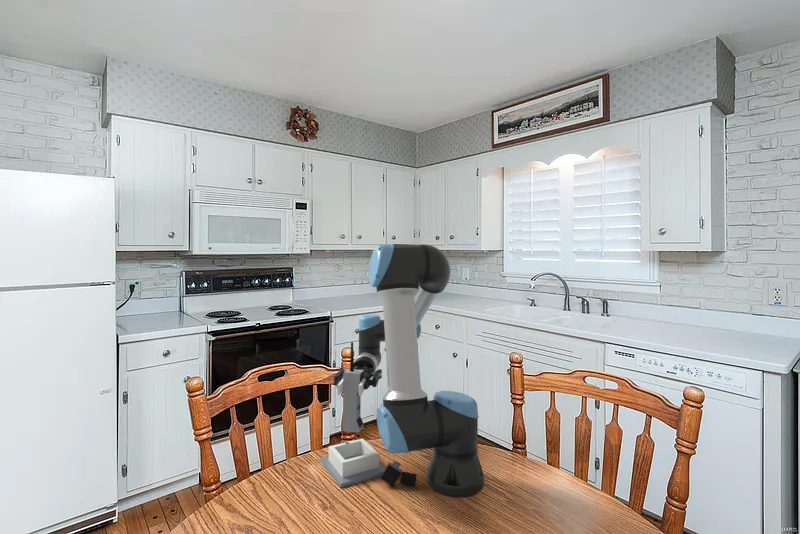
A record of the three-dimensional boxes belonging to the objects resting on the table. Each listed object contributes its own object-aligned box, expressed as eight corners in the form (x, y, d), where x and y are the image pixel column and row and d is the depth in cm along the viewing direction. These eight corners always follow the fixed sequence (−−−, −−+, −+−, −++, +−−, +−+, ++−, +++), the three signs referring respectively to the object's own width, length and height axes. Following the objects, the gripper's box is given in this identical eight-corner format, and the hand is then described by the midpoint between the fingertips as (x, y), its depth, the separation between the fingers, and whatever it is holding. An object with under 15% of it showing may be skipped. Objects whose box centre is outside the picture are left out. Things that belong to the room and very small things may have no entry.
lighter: (408, 491, 109) (419, 474, 109) (408, 496, 107) (420, 478, 107) (380, 473, 109) (392, 456, 109) (380, 478, 107) (392, 460, 107)
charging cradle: (388, 473, 113) (388, 454, 113) (340, 487, 106) (340, 467, 106) (363, 450, 127) (363, 433, 127) (320, 461, 120) (320, 443, 120)
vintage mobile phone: (359, 433, 114) (360, 343, 113) (342, 431, 115) (343, 343, 114) (363, 427, 118) (364, 341, 117) (347, 425, 119) (347, 340, 118)
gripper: (391, 379, 133) (382, 405, 110) (337, 377, 135) (316, 402, 112) (391, 356, 133) (382, 377, 110) (337, 355, 135) (316, 375, 111)
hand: (349, 390), depth 111 cm, fingers closed on vintage mobile phone, 5 cm apart
